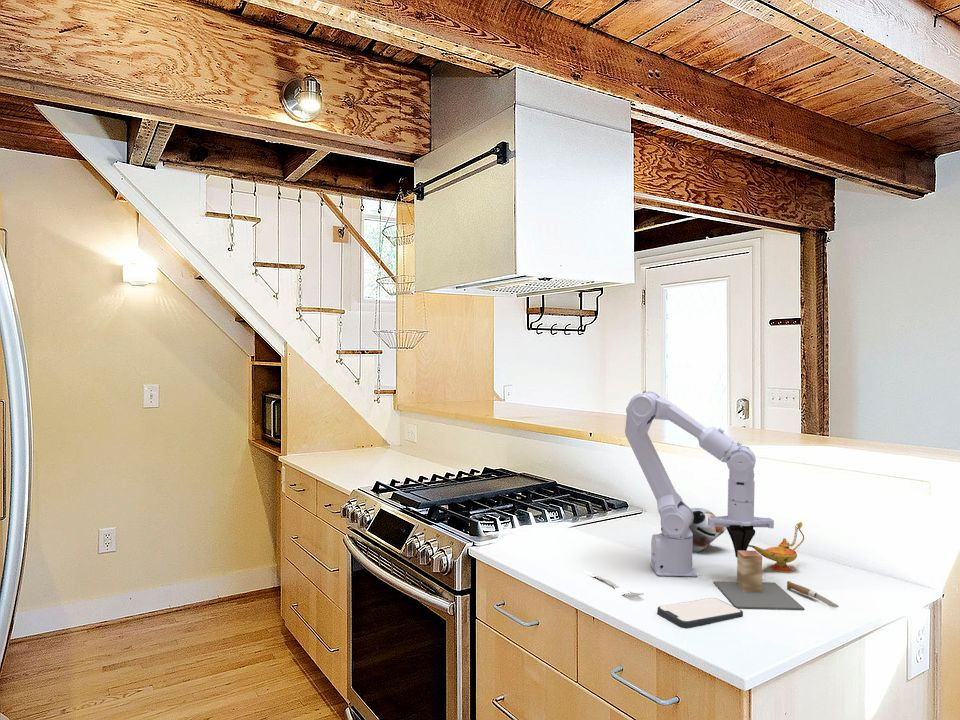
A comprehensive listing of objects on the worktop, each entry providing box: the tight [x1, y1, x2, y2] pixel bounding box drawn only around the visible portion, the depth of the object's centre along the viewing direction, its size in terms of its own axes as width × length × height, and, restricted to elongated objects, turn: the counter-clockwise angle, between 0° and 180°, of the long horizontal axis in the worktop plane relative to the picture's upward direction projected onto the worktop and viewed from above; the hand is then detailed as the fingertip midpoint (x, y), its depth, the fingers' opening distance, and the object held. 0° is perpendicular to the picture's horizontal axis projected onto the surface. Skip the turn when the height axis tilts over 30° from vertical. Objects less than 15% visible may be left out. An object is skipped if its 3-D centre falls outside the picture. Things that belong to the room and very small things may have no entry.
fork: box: [595, 575, 645, 597], centre depth 154 cm, size 3×24×2 cm, turn 26°
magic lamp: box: [748, 521, 805, 573], centre depth 164 cm, size 7×18×11 cm, turn 112°
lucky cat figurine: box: [660, 507, 727, 553], centre depth 180 cm, size 15×12×14 cm
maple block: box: [736, 550, 763, 592], centre depth 149 cm, size 4×4×8 cm
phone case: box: [657, 597, 744, 629], centre depth 136 cm, size 9×2×16 cm
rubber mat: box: [712, 580, 805, 611], centre depth 146 cm, size 14×15×1 cm
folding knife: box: [786, 580, 840, 609], centre depth 145 cm, size 14×2×2 cm, turn 22°
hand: (739, 557), depth 155 cm, fingers closed
